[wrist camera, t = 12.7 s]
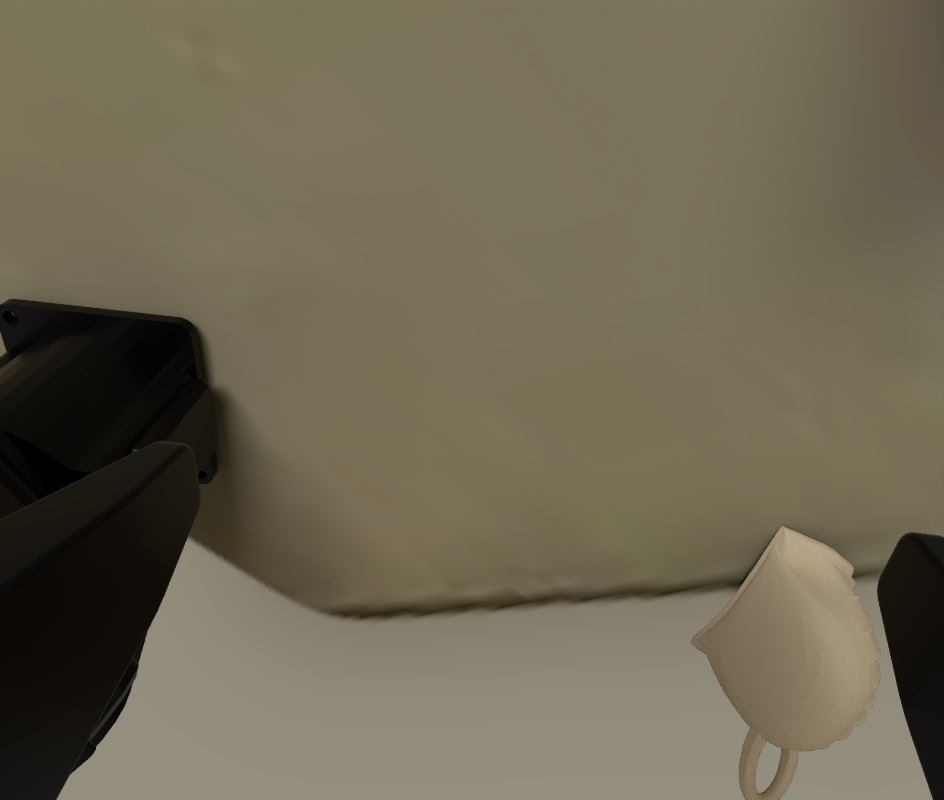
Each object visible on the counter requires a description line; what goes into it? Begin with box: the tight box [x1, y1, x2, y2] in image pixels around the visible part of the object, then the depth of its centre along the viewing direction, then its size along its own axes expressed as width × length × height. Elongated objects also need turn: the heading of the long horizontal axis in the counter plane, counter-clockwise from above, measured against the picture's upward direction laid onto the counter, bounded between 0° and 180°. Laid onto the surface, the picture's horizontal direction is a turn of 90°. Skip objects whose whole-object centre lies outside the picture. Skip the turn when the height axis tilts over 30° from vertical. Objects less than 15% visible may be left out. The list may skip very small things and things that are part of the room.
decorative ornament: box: [691, 526, 881, 800], centre depth 26 cm, size 4×8×5 cm, turn 160°
